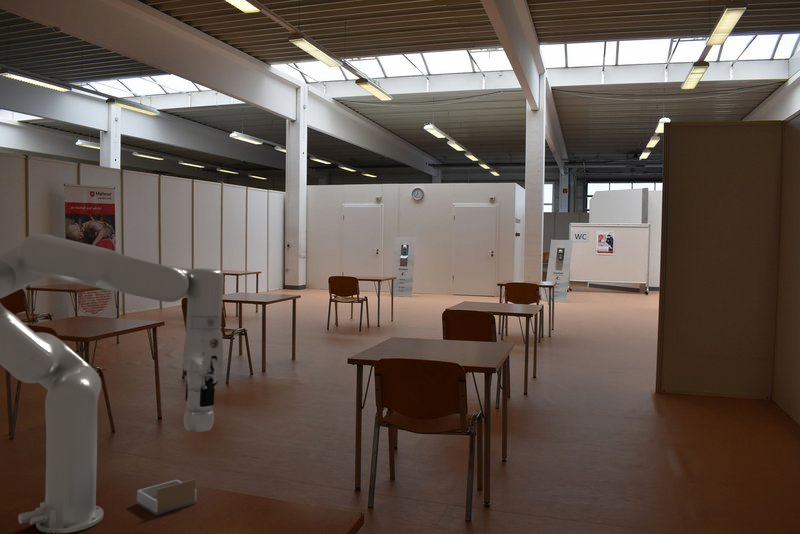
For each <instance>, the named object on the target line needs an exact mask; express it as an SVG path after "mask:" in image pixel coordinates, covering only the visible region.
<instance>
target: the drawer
mask: <svg viewBox="0 0 800 534" xmlns="http://www.w3.org/2000/svg"><path fill="white" fill-rule="evenodd" d="M197 490H198V489H197V488H196V479H195V478H193V479H188V480H185V481H181V480H179V479H174V480H171V481H167V482H162V483H160V484H155V485H152V486H148V487H145V488H141V489H137V491H136V505H137V506H140V507H141V508H143V509H144V510H146V511H148V512H149V513H151V514H153V515H155V516H158V515H161V514H165V513H168V512H171V511H175V510H179V509H181V508H185V507H188V506H191V505H194V504H197V496H198V495H197V492H198V491H197Z"/></svg>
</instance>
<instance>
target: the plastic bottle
mask: <svg viewBox="0 0 800 534" xmlns="http://www.w3.org/2000/svg"><path fill="white" fill-rule="evenodd" d="M186 370H187V381H188V383H187V384H188V397H187V401H186V404H185V405H186V406H185V410H184V415H183V426H184V428H185V430H186V431H189V432H193V433H194V432H195V433H201V432H206V431H207V432H208V431H210V430H211V429H212V427H213V426H214V422H215V416H214V415H215V414H214V410H213V409H214V408H213V407H214V405H212V406H206V407H201V406H200V390H201V389H203V387H202V376H201V375H199V374H198V367H197V364H196V363H195V361H194V360H193V359H190V360H189V361H188V363H187V366H186ZM207 374H212V370H207ZM209 378H211V377H206V379H207V381H208V380H209Z"/></svg>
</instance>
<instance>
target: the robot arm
mask: <svg viewBox="0 0 800 534" xmlns="http://www.w3.org/2000/svg"><path fill="white" fill-rule="evenodd" d="M44 278H52V279H54V280H60V281H61V280H62V281H66V282H71V283H74V284H75V283H76V284H81V285H83V286H84V285H85V286H89V287H94V288H98V289H101V290H107V291H112V292H113V291H114V292H119V293H124V294H127V295H132V296H135V297H140V298H141V297H142V298H145V299H150V300H155V301H159V302H164V303H174V302H177V301H180V300H181V299H183V298H184V299H185V298H187V303H186V305H187V306H186V324H185V330H186V333H185V338H184V345H183V356H182V358H183V359H182V362H183V363H182V365H181V366H182V370H183V371H184V376H185V381H184V382H185V384H186V385H185V401H186V402H187V397H188V381H187V370H186V366H187V363H188V361H189V360H190V359H193V360H194V361H195V363H196V364H197V367H198V374H199V375H201V376H202V387H203V389H201V390H200V406H201V407H206V406H212V405H213V406H214V404H215V389H216V388H217V384H218V382H219V380H220V379H221V378H222V374H223V371H224V343H223V342H224V340H223V333H222V316H223V315H222V314H223V313H222V312H223V297H224V296H223V294H224V273H223V272H222V271H221V270H219V269H216V268H215V269H213V268H193V269H191V268H184V267H179V266H173V265H165V264H159V263H155V262H151V261H147V260H143V259H139V258H134V257H131V256H127V255H125V254H123V253H120V252H118V251H115V250H113V249H109V248H105V247H101V246H97V245H94V244H89V243H83V242H79V241H76V240H71V239H67V238H62V237H58V236H55V235H52V234H47V233H34V234H31V235H28V236H26V237H25V238H24V239H23V240H22V241H21V242H19V245H18V246H16V247H13V248H11V249H9V250H7V251H5V252H2V253H1V254H0V299H3V298H5V297H7V296H9V295H11V294H13V293H15V292H18V291H19V290H21V289H23V288H25V287H27V286H30V285H31V284H34V283H36V282H38V281H39V280H42V279H44ZM0 366H2V367H3V368H4V369H5V370H6V371H7V373H8V372H9V373H10V374H11V376H12V377H14V378H15V379H16V380H18V381H20V382H23V383H27V384H36V383H39V384H40V386H42V387H44V389H46V390H47V393H46V397H45V404H44V405H45V406H44V409H45V412H44V413H45V414H44V415H45V427H46V428H45V429H46V430H45V431H46V432H45V433H46V437H45V438H46V440H45V453H46V459H45V460H46V461H45V498H44V499H45V501H41V502H40V503H39V507H37V508H35V510H32V511H26V512H22V513H19V514H18V516H17V517H18V518H17V519H18V523H19V524H21V525H22V524H25V523H29V524H30V525H34V524H35V528H36V529H37V530H38V531H40V532H42V533H45V532H46V533H45V534H51V533H53V534H55V533H56V534H58V533H59V534H61V533H62V534H70V533H74V532H80V531H83V530H86V529H89V528H92V527H93V526H96V525H97V524H98V523H100V522H101V521H102V520H103V518H104V509H102V507H100V506H99V505H96V503H97V465H98V463H97V461H98V460H97V458H98V453H97V452H98V405H99V403H98V402H99V398H100V397H99V396H100V394H101V391H102V380H101V377H100V375H99V373H98V372H97V371H96V370H95V368H93V367H92V366H91V365H90V364H89V363H88V362H86V361H85V360H84V359H83V358H82V357H81V356H80V355H79V354H77V353H76V352H75V351H73V350H72V348H70V347H69V346H68V345H67V344H66V343H65V342H64V341H62V340H61V339H60V338H58V337H57V336H55V335H53V334H51V333H48V332H35V331H34V330H32V329H31V328H30V327H29V326H27V324H25V323H24V322H23V321H22V320H21V319H20V318H19V317H17V315H15V314H14V313H13V312H11V311H10V310H8V309H7V308H6V307H4V305H3V304H2V303H1V302H0ZM207 370H212V374H207ZM206 377H211V378H209V380H208V381H207V379H206Z"/></svg>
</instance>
